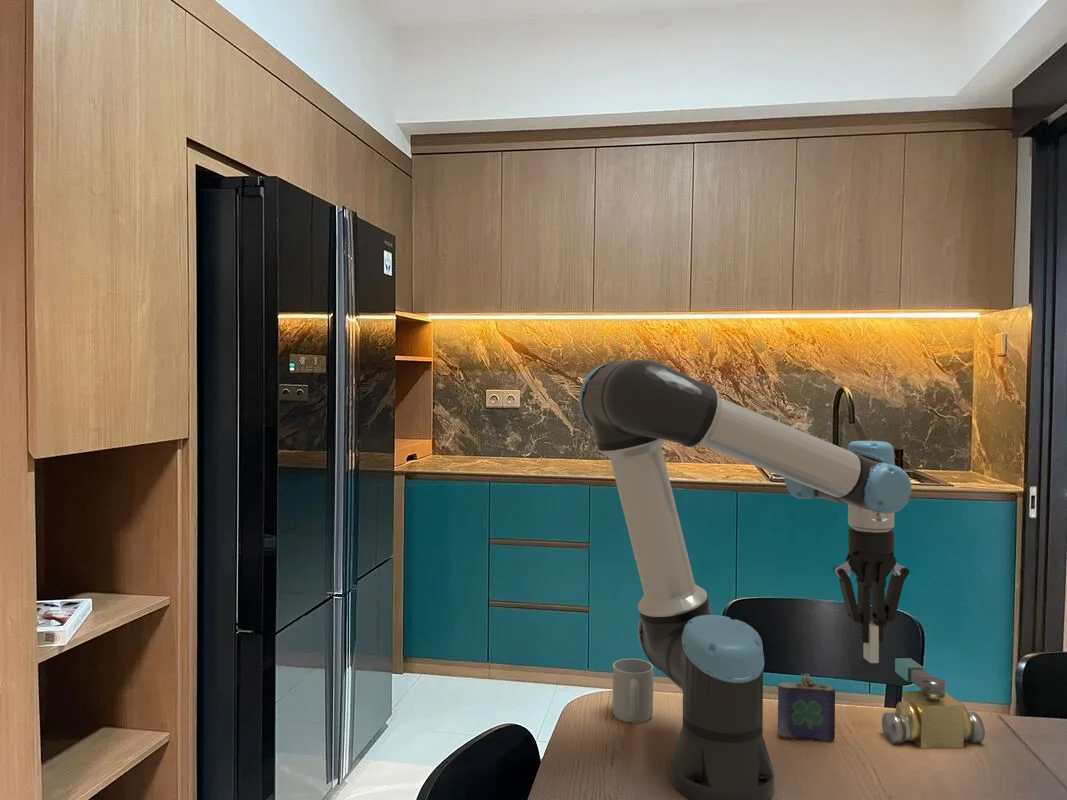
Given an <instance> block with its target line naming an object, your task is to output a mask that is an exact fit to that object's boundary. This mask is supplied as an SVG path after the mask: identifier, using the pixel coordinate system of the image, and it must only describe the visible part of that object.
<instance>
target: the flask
mask: <svg viewBox="0 0 1067 800" xmlns="http://www.w3.org/2000/svg"><path fill="white" fill-rule="evenodd" d="M800 675H801V680H800V682H779V684H778V685H777V736H778V738H779V739H783V740H787V741H799V742H800V741H801V742H811V741H812V742H814V743H816V742H818V743H819V742H820V743H827V744H833V743H835V739H836V725H835V723H836V689H835V688H834V687H833V686H831V685H830V684H829V685H828V684H825V683H824V682H819V683H818V682H814V681H813V680H811V678H810V673H809V672H808V673H807V672H806V673H800Z"/></svg>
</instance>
